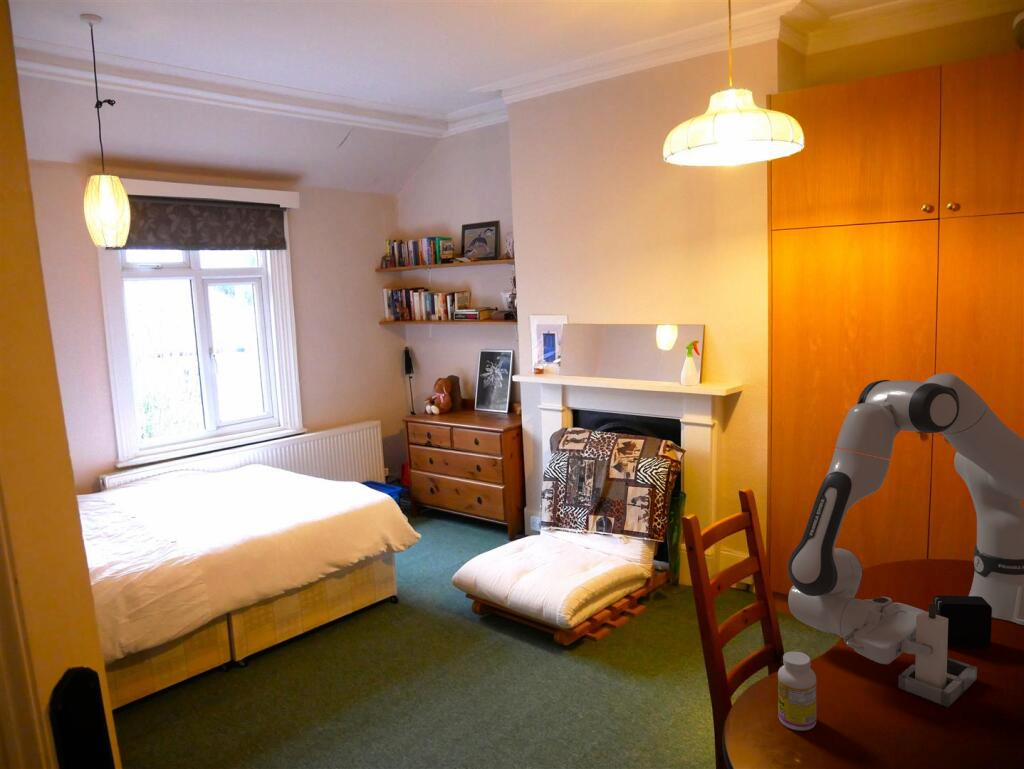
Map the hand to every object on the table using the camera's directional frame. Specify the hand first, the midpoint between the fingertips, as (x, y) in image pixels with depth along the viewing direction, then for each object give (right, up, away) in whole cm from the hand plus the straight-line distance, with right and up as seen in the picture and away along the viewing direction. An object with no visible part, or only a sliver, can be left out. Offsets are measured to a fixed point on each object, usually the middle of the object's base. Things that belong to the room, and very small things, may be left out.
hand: (936, 647), depth 141 cm
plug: (0, -8, +2) cm, 8 cm away
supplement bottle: (-28, -12, -4) cm, 31 cm away
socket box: (+3, -9, +4) cm, 10 cm away
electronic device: (+16, -6, +19) cm, 25 cm away
